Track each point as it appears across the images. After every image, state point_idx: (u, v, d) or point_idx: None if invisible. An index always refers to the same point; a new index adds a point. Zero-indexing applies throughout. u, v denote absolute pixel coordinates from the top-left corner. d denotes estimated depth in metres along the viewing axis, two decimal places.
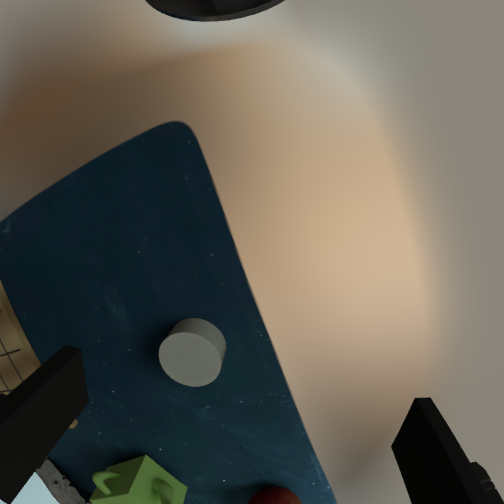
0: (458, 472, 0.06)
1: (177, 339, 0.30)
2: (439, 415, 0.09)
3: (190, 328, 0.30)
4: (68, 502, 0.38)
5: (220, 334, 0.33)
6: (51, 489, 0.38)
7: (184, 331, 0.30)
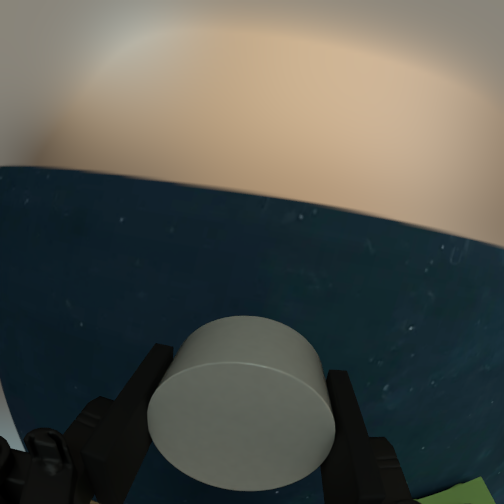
0: (350, 440, 0.08)
1: (164, 426, 0.09)
2: (351, 387, 0.11)
3: (162, 378, 0.10)
4: None
5: (241, 320, 0.12)
6: None
7: (151, 399, 0.09)
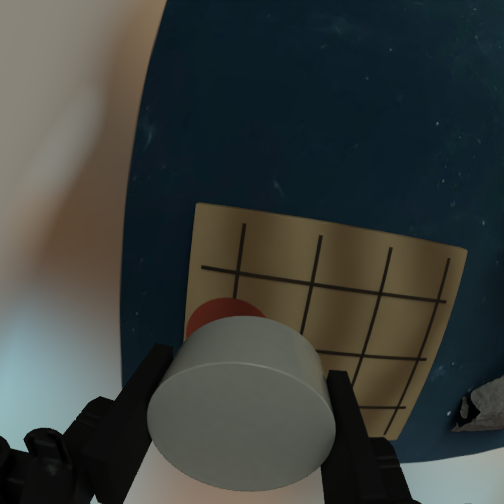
0: (350, 440, 0.08)
1: (164, 427, 0.09)
2: (351, 387, 0.11)
3: (162, 378, 0.10)
4: None
5: (242, 320, 0.12)
6: None
7: None
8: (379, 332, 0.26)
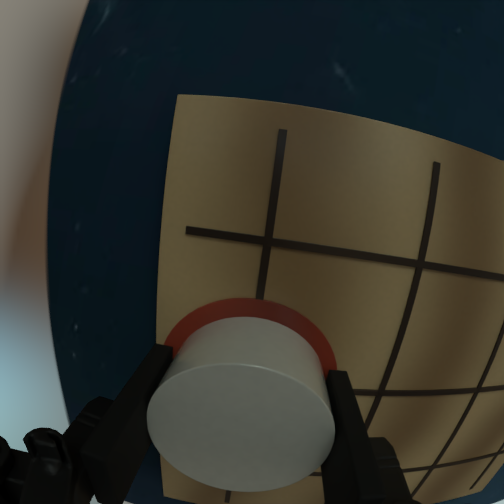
0: (350, 440, 0.08)
1: (163, 427, 0.09)
2: (350, 387, 0.11)
3: None
4: None
5: (241, 321, 0.12)
6: None
7: (150, 399, 0.09)
8: None
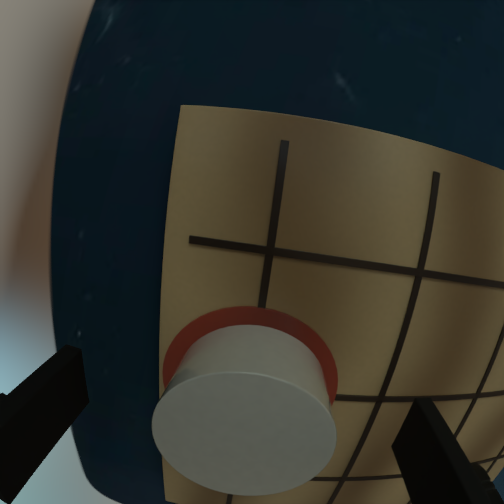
0: (458, 472, 0.06)
1: (169, 434, 0.10)
2: (439, 415, 0.09)
3: None
4: None
5: (244, 329, 0.12)
6: None
7: (156, 407, 0.10)
8: None
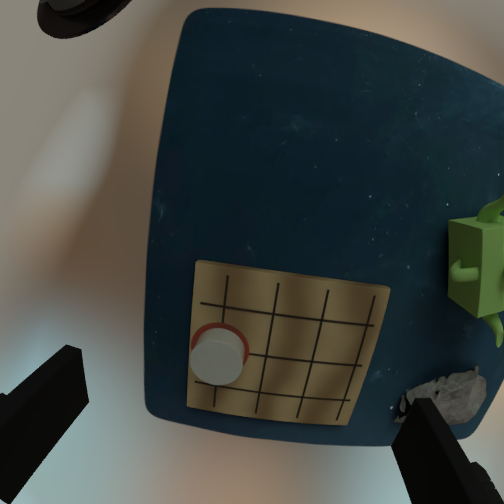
0: (458, 472, 0.06)
1: (194, 360, 0.37)
2: (439, 415, 0.09)
3: (194, 346, 0.38)
4: (463, 401, 0.36)
5: (217, 329, 0.39)
6: (441, 410, 0.36)
7: (191, 352, 0.37)
8: (323, 346, 0.39)
